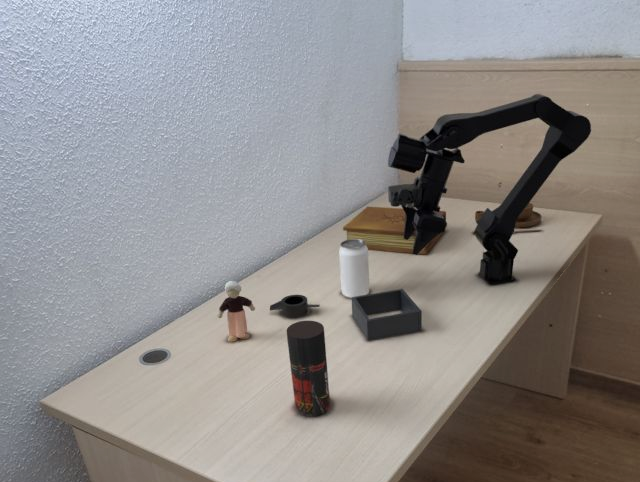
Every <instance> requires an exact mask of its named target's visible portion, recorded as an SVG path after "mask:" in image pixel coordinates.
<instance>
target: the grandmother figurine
mask: <svg viewBox="0 0 640 482" xmlns="http://www.w3.org/2000/svg"><path fill="white" fill-rule="evenodd" d="M224 291H225V293H226V295H227V297H226V298H225V299H224V300H223V301H222V303H221V305H220V306H219V308H218V309H219V310H218V311H217V312H218V313H217V318H218V319H222V318H223V316H224V315H223V314H224V312H226V311H227V314H226V316H227V330H228V337H227V342H231V343H232V342H236V341H238V338H239V339H240V340H247V339H249V338H250V334H249V333H247V332H248V326H247V325H248V324H247V323H248V322H247V317H246V311H245V309H244V307H248V308H249V309H250V311H251V312H254V311H255V310H256V307H255V306H254V303H253V301H252V300H251V299H249V298H248V297H245V296H242V295H240V293H241V291H242V285H241V284H239V282H238V281H235V280H229V281H227V282H226V283H225V285H224Z"/></svg>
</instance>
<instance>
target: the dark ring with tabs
mask: <svg viewBox="0 0 640 482" xmlns="http://www.w3.org/2000/svg"><path fill="white" fill-rule="evenodd" d="M320 306H321V305H320V304H309V301H308V297H307V296H305V295H302V294H290V295H287V296H285V297H282V298H281V300H279V301H277V302H275V303H273V304H270V305H269V311H270V312H271V311H281V313H282V316H283V317H284V318H286V319H299V318H303V317H305V316H307V315H308V313H309V308H320Z"/></svg>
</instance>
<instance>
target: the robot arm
mask: <svg viewBox="0 0 640 482" xmlns="http://www.w3.org/2000/svg"><path fill="white" fill-rule="evenodd" d="M536 119H539V120H540V121H542V122H543V123H544V124H545V125H547V126H548V129H547V131H546V133H545V135H544V139H543V142H542V146H541V149H540V150H539V151H538V153H537V154H536V156H535V157H534V158H533V160H532V161H531V163H530V164H529V165H528V167H527V168H526V170H525V171H524V172H523V174H522V175H521V177H520V178H519V179H518V180H517V182H516V183H515V184H514V186H513V187H512V188H511V190H510V191H509V193H508V194H507V196H506V197H505V198H504V200H502V202H501V203H500V205H499V206H498V207H496V208H494V209H493V210H491V209H490V208H489V207H487V208H486V209H485V210H484V214H483V216H482V217H481V218H480V219H479V220H478V221H477V222H476V221H475V223H476V226H475V229H474V231H475V234H474V235H475V238H476V240H477V241H478V242H479V243H480V245H481V246H482V247H483V248H484V250H486V251H483V252H482V258H481V259H480V265H479V272H478V273H477V275H478V276H479V277H480V278H481V279H483V281H485V282H486V283H487V284H488V285H491V286H492V285H497V284H503V283H509V282H514V281H516V277H515V276H514V275H513V272H514V259H516V256H517V255H518V252H519V249H518V248H517V247H516V246H515V244H513V243H512V242H511V238H512V236H513V234H514V233H513V232H514V231H515V229H516V227H515V225H516V221H517V219H518V217H519V216H520V214H521V213H522V212H523V210H524V209H525V208H526V206H527V205H528V203H531V201H532V199H533V198H534V197H535V196H536V194H537V193H538V191H540V189H541V188H542V187H543V185H544V184H545V182H546V181H547V180H548V178H549V177H550V175H551V174H552V173H553V172H554V170H555V169H556V167H557V166H558V164H559V163H561V161H562V160H564V159H565V158H567V157H568V156H570V155H571V154H573V153H574V152H576V151H577V150H578V149H579V148H580V147H581V146H582V145H583V144H584V143H585V142H586V141H587V140H588V139H589V137H590V135H591V133H592V123H591V121H590V119H589V118H588V117H587V116H584V115H582V114H580V113H577V112H575V111H572V110H567V109H565V108H563V107H562V106H560V105H559V104H557V103H555V102H554V101H553V100H552V99H551V98H550V97H549V96H546V95H544V94H541V93H536V94H533V95H531V96H530V97H526V98H523V99H519V100H515V101H513V102H509V103H506V104H502V105H498V106H495V107H491V108H488V109H484V110H481V111H477V112H459V113H457V112H456V113H447V114H443V115H441V116H439V117H438V118H437V120H436V121H435V123H434V125H433V127H432V128H431V129H430V130H428V131H426V133H424V134H422V136H420V137H419V138H415V137H411V136H407V135H406V134H404V133H400V132H399V133H398V134H397V137H396V139H395V140H394V142H393V144H392V146H391V147H390V150H389V153H388V158H387V159H388V160H387V167H388V168H392V169H396V170H400V171H404V172H408V173H411V174H416V173H417V172H420V171H421V173H420V176H416V177H415V178H414V180H413V183H403V184H396V185H390V186H388V187H387V193H388V203H390V204H389V205H390V206H391V207H392V208H396V207H397V208H398V207H400V206H401V209H403V210H404V212H405V226H404V239H406V240H408V239H409V238H410V237H411V235H412V234H413V233H414V231H415V230H416V235H415V240H414V245H413V251H412V253H411V254H412V255H415V256H417V255H419V254H418V253H419V252H420V251H421V250H422V249H423V248H424V247H425V246H426V245H427V244H428V243H429V242H430V241H431V240H432V239H434V238H435V237H436V236H437V235H438V234H441V232H443V233H445V231H446V228H447V226H448V222H447V219H446V220H445V218H444V217H443V216H442V215H441V213H436V212H439V211H441V206H440V203H441V202H440V201H441V200H442V196H443V194H447V191H448V188H447V187H446V185H447V183H448V180H449V177H450V174H451V172H452V168H453V166H454V163H455V162H456V163H460V164H465V162H466V161H465V159H464V157H463V155H462V151H461V149H460V147H463V146H465V145H467V144H469V143H472V142H473V141H474V140H475V139H477V138H478V137H480V136H481V135H485V134H487V133H490V132H494V131H498V130H501V129H504V128H508V127H511V126H515V125H518V124H521V123H525V122H529V121H532V120H536ZM433 211H436V212H433Z"/></svg>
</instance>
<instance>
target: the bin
mask: <svg viewBox="0 0 640 482" xmlns="http://www.w3.org/2000/svg"><path fill="white" fill-rule="evenodd" d="M350 299H351V315H352V318H353V320H354V321H355V323H356V324H357V326H358V328H359V329H360V330H361V332H362V334H363V336H364V337H365V339H366V340H367V341H373V340H380V339H384V338H389V337H395V336H400V335H406V334H412V333H417V332H422V326H423V324H422V323H423V322H422V321H423V319H422V318H423V315H422V314H423V311H422V309H421V308H420V307H419V306H418V304H416V303H415V301H414V300H413V299H412V298H411V297H410V296H409V295H408V293H407V292H406V291H405V290H404V288H397V289H392V290H385V291H381V292H374V293H368V294H367V295H362V296H356V297H351V298H350ZM398 310H400V311H401V312H400V313H395V314H390V315H384V316H377V317H372V318H370V317H369V315H374V314H380V313H387V312H391V311H392V312H393V311H398Z"/></svg>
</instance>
